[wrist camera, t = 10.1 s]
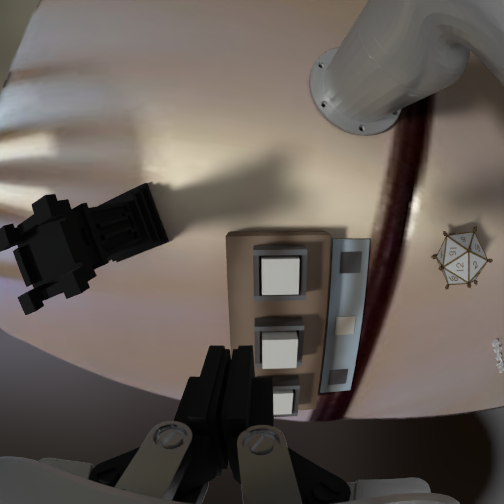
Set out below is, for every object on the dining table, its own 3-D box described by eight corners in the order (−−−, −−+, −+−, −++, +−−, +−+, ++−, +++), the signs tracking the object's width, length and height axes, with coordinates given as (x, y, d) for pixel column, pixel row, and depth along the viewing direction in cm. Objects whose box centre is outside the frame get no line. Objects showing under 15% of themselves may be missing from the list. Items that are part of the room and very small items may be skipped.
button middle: (295, 329, 34) (298, 339, 32) (294, 357, 35) (296, 367, 33) (262, 330, 34) (262, 340, 32) (262, 358, 35) (262, 368, 33)
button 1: (291, 382, 37) (293, 393, 35) (290, 403, 38) (291, 414, 36) (262, 383, 38) (262, 394, 35) (262, 403, 38) (262, 414, 36)
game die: (442, 239, 40) (498, 241, 32) (434, 292, 39) (492, 298, 30) (424, 216, 35) (491, 216, 27) (415, 278, 34) (486, 285, 26)
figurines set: (503, 365, 42) (510, 372, 39) (494, 374, 43) (501, 381, 40) (495, 334, 40) (503, 341, 37) (486, 344, 41) (493, 351, 38)
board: (369, 231, 36) (385, 238, 31) (348, 393, 42) (357, 414, 37) (228, 232, 37) (223, 240, 31) (236, 398, 42) (234, 421, 37)
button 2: (296, 253, 34) (299, 258, 31) (295, 286, 34) (298, 294, 32) (261, 254, 34) (261, 259, 31) (261, 287, 35) (262, 295, 32)
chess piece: (119, 260, 38) (25, 320, 18) (98, 206, 36) (-9, 230, 17) (168, 241, 37) (87, 296, 18) (147, 183, 35) (47, 187, 16)
